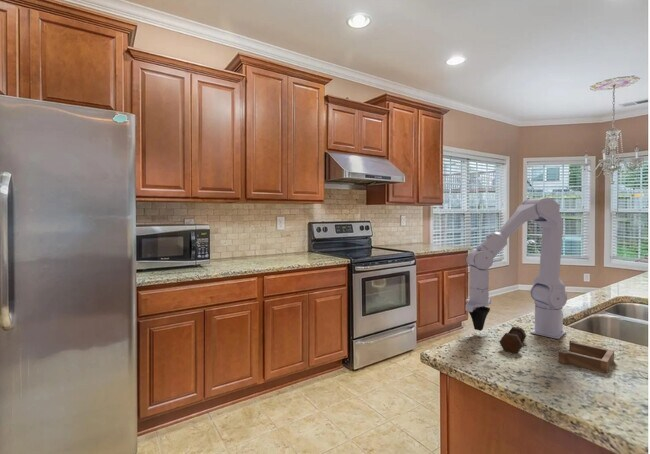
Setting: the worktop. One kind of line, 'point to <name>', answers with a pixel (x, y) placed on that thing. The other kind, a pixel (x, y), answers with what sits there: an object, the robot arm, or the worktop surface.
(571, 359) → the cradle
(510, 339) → the bolt
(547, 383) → the worktop surface
